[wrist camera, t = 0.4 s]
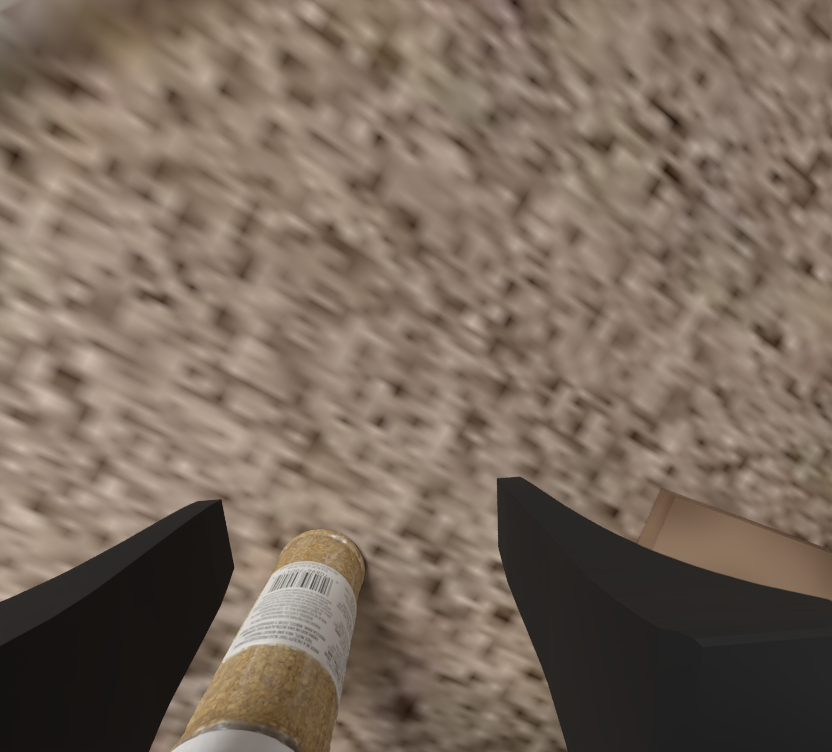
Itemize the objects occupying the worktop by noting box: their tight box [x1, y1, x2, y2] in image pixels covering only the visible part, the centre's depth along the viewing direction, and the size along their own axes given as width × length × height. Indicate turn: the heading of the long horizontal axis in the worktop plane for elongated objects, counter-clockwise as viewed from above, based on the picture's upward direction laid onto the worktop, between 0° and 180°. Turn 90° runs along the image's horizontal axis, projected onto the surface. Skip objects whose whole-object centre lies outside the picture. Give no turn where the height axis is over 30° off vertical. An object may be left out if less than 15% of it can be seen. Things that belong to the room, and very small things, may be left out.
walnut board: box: [637, 488, 832, 601], centre depth 22 cm, size 14×14×2 cm
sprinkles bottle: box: [170, 529, 365, 752], centre depth 16 cm, size 5×5×13 cm
